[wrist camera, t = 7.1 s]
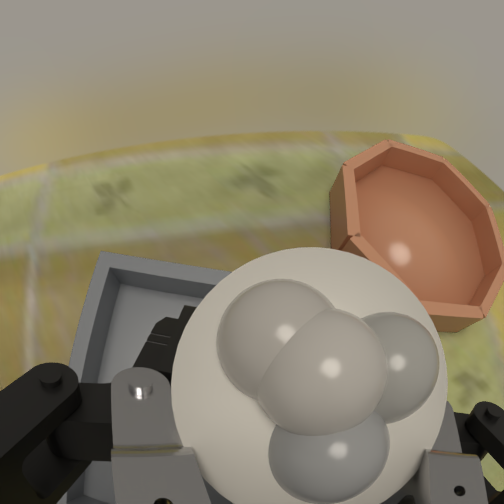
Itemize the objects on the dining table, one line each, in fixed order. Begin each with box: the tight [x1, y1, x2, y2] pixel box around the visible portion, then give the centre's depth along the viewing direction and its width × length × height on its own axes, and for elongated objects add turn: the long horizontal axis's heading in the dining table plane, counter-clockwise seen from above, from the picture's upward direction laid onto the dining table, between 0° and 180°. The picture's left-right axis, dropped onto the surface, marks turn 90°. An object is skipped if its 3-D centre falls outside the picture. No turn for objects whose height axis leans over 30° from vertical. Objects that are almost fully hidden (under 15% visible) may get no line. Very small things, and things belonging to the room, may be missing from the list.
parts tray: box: [57, 251, 233, 504], centre depth 14 cm, size 14×14×3 cm
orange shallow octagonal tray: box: [330, 139, 504, 332], centre depth 20 cm, size 14×14×3 cm
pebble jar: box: [171, 247, 448, 504], centre depth 8 cm, size 5×5×11 cm
